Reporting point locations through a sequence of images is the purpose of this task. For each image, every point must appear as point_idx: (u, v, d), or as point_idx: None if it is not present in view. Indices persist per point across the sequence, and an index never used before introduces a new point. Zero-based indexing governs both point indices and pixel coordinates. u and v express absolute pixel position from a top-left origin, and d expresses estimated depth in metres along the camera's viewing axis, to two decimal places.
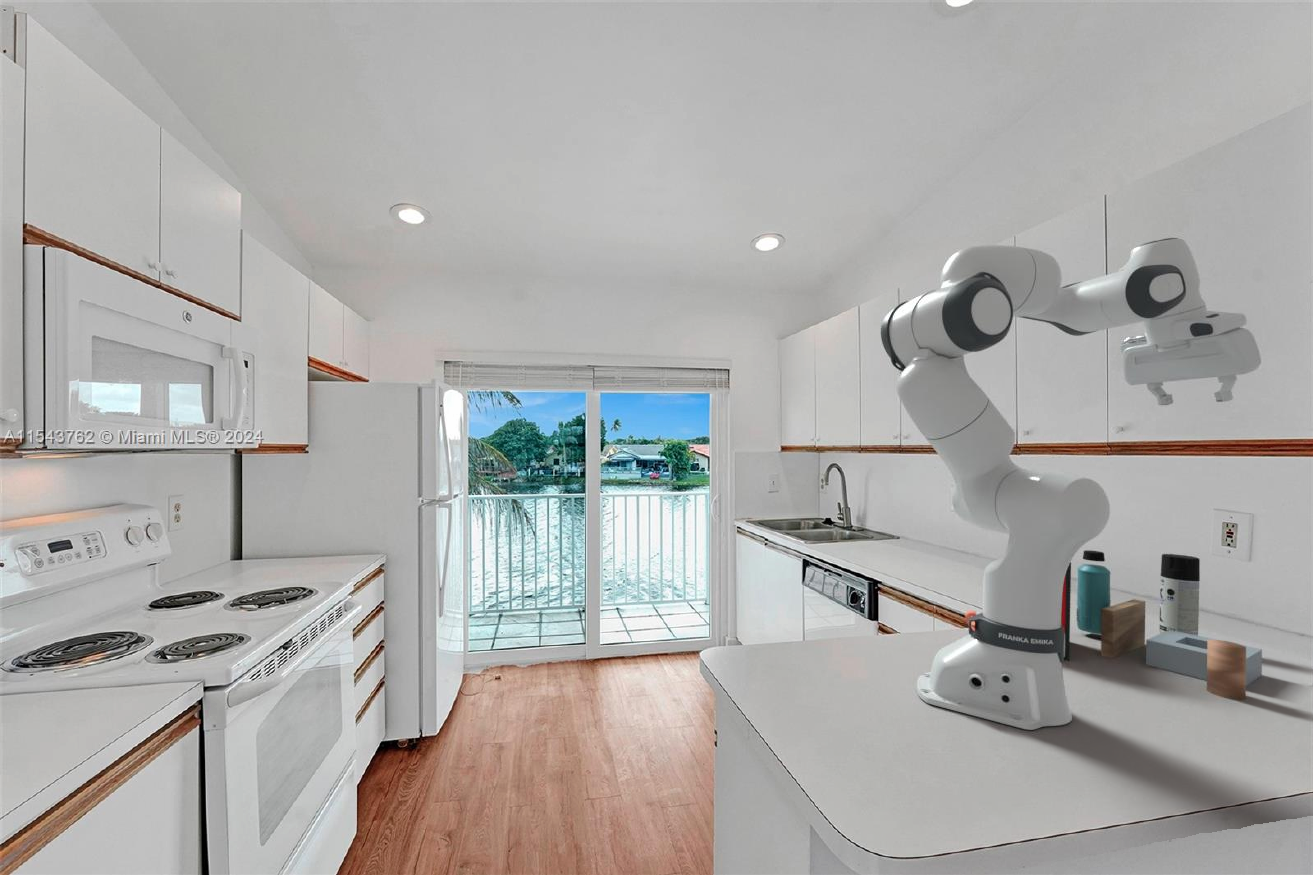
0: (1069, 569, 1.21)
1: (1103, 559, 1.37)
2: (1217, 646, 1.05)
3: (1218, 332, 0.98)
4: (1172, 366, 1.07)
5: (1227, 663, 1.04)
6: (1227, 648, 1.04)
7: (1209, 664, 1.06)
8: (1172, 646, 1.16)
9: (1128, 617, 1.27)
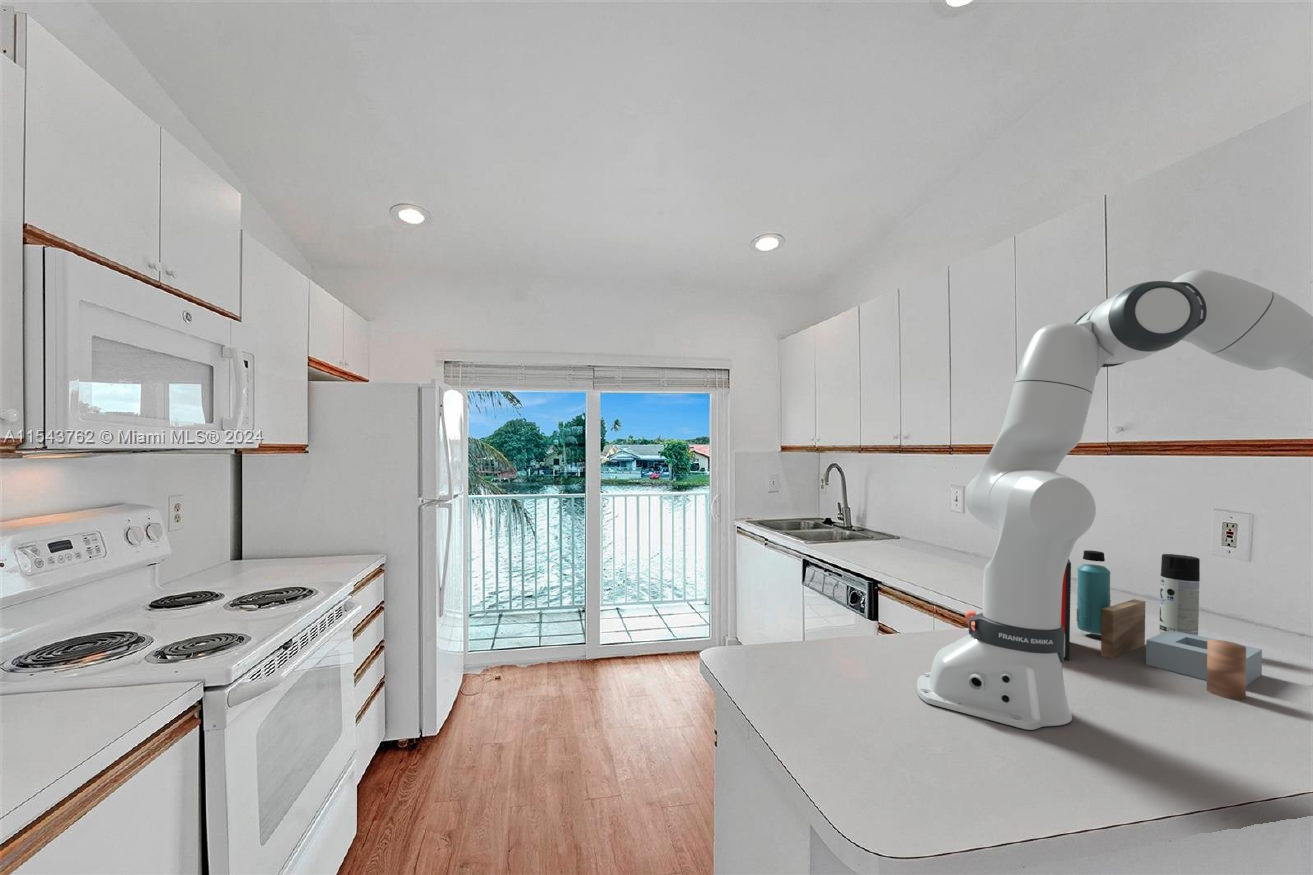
0: (1069, 569, 1.21)
1: (1103, 559, 1.37)
2: (1217, 646, 1.05)
3: None
4: None
5: (1227, 663, 1.04)
6: (1227, 648, 1.04)
7: (1209, 664, 1.06)
8: (1172, 646, 1.16)
9: (1128, 617, 1.27)
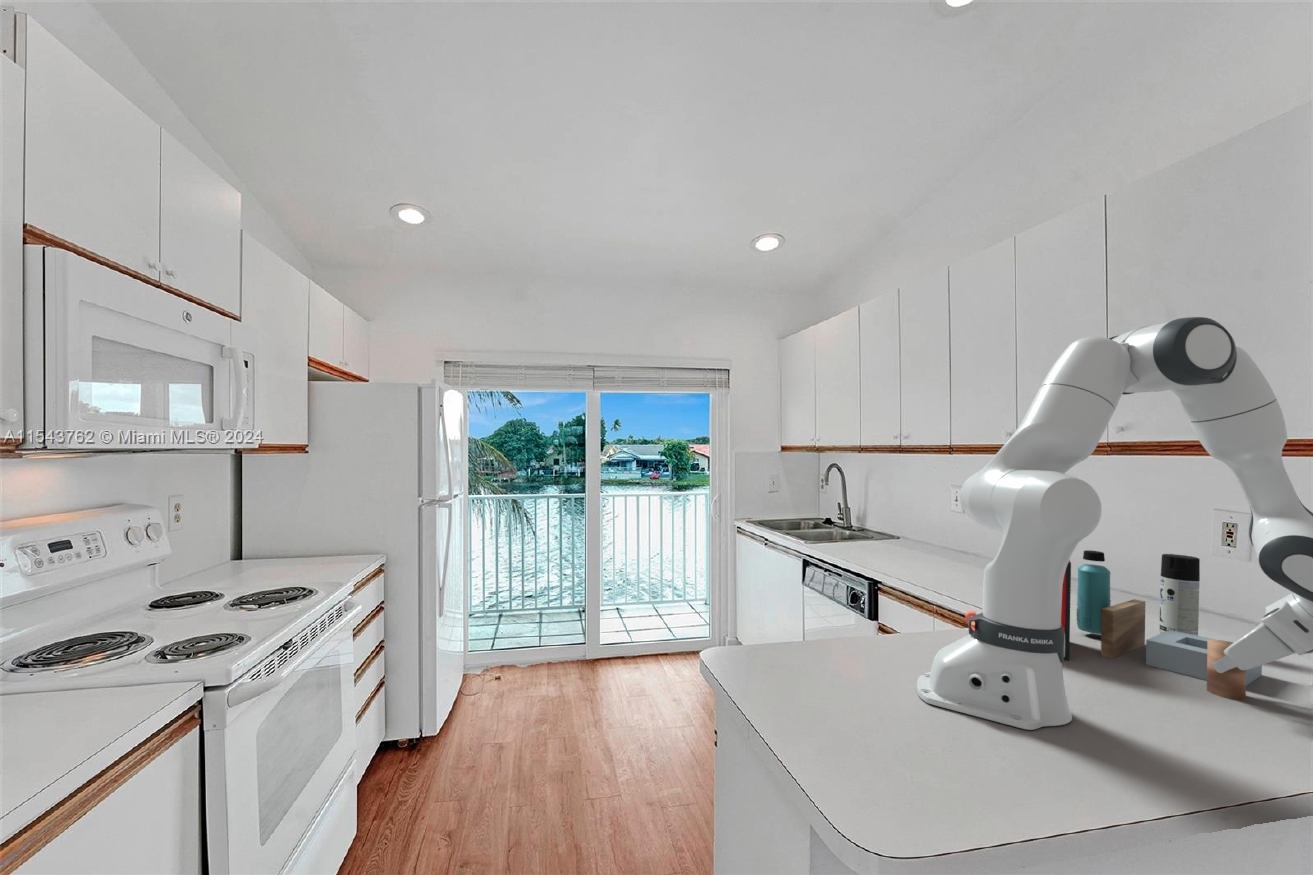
0: (1069, 569, 1.21)
1: (1103, 559, 1.37)
2: (1217, 646, 1.05)
3: (1261, 619, 0.96)
4: None
5: None
6: None
7: (1209, 664, 1.06)
8: (1172, 646, 1.16)
9: (1128, 617, 1.27)
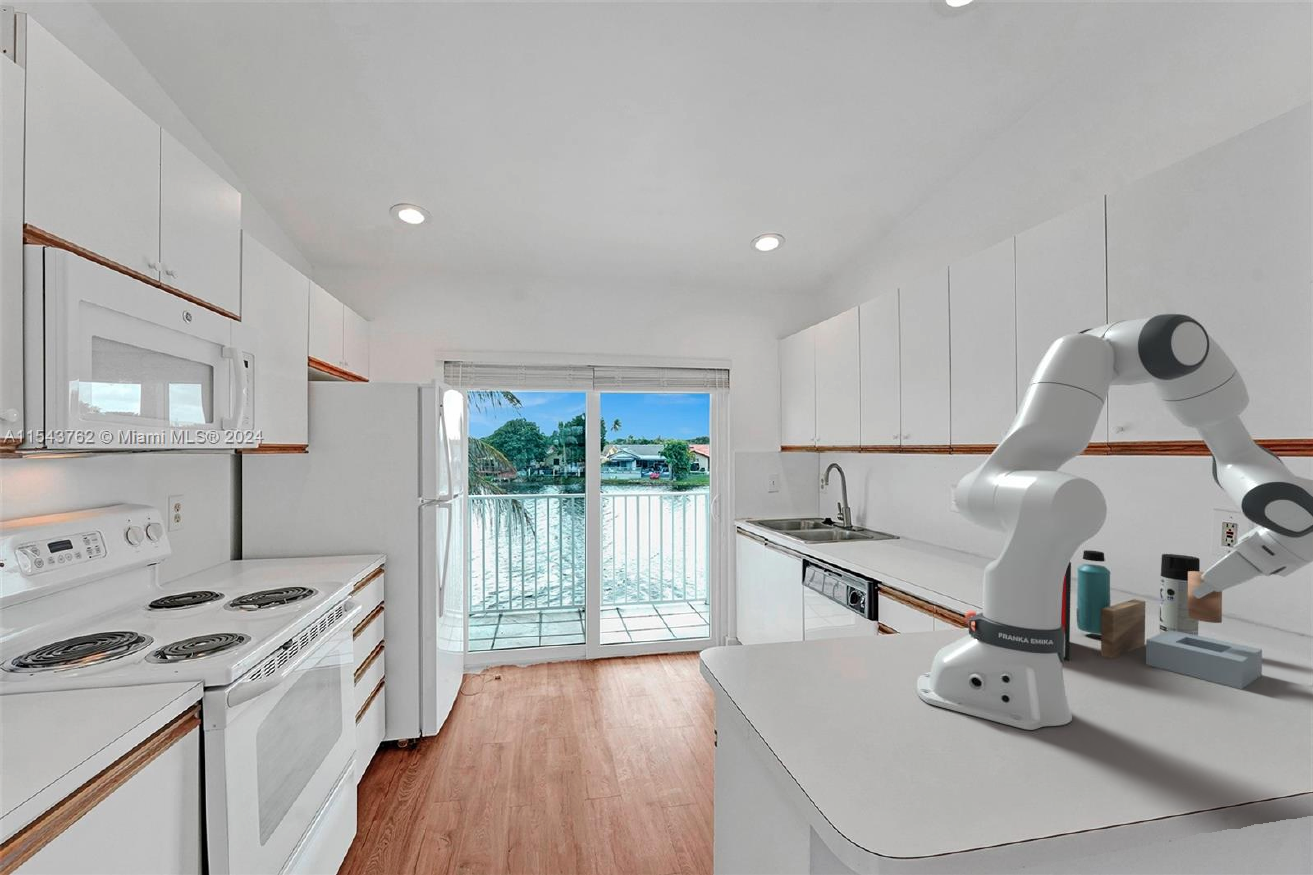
0: (1069, 569, 1.21)
1: (1103, 559, 1.37)
2: (1196, 575, 1.17)
3: None
4: None
5: None
6: None
7: (1189, 592, 1.19)
8: (1172, 646, 1.16)
9: (1128, 617, 1.27)
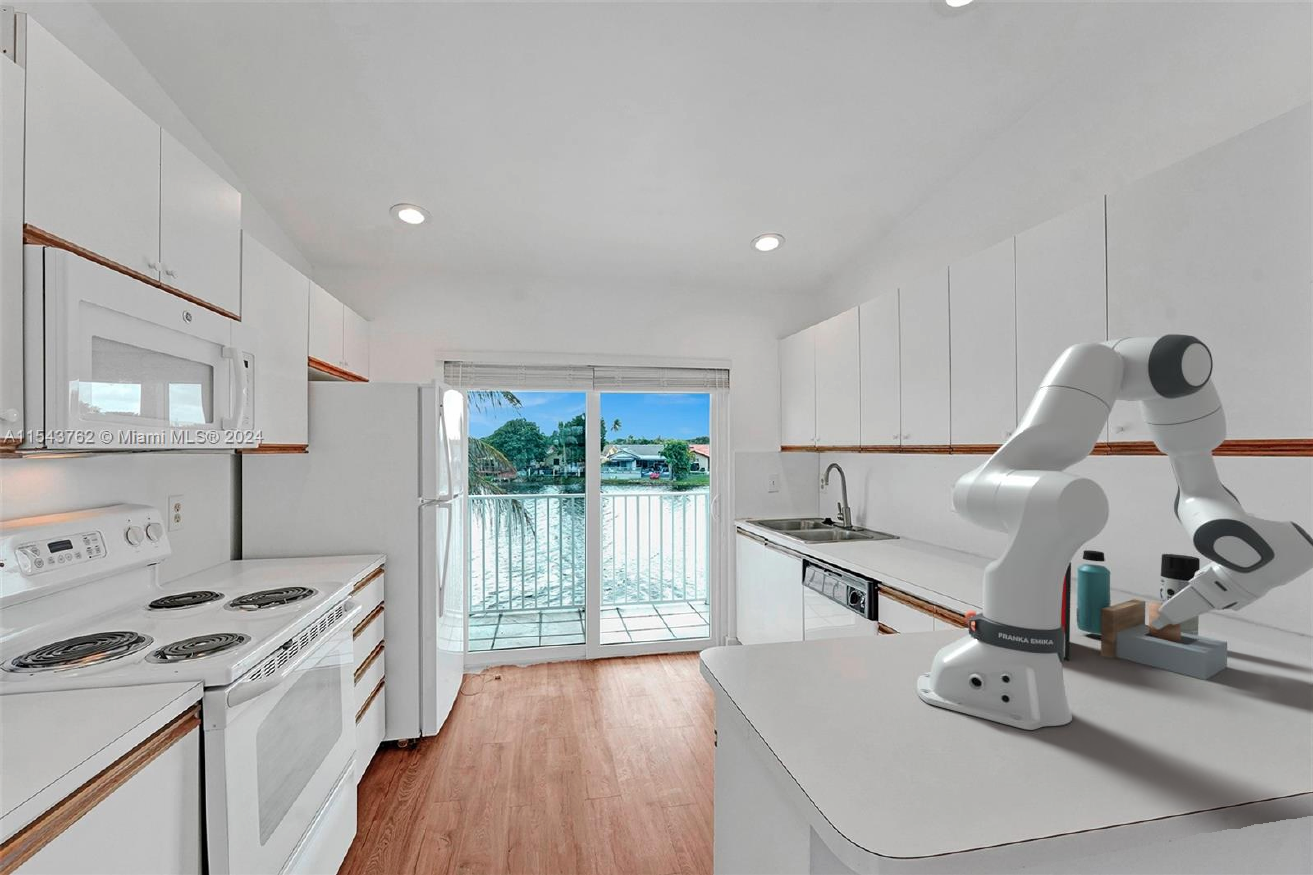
0: (1069, 569, 1.21)
1: (1103, 559, 1.37)
2: (1156, 607, 1.22)
3: (1189, 580, 1.14)
4: None
5: None
6: None
7: (1150, 623, 1.23)
8: (1141, 639, 1.20)
9: (1128, 617, 1.27)
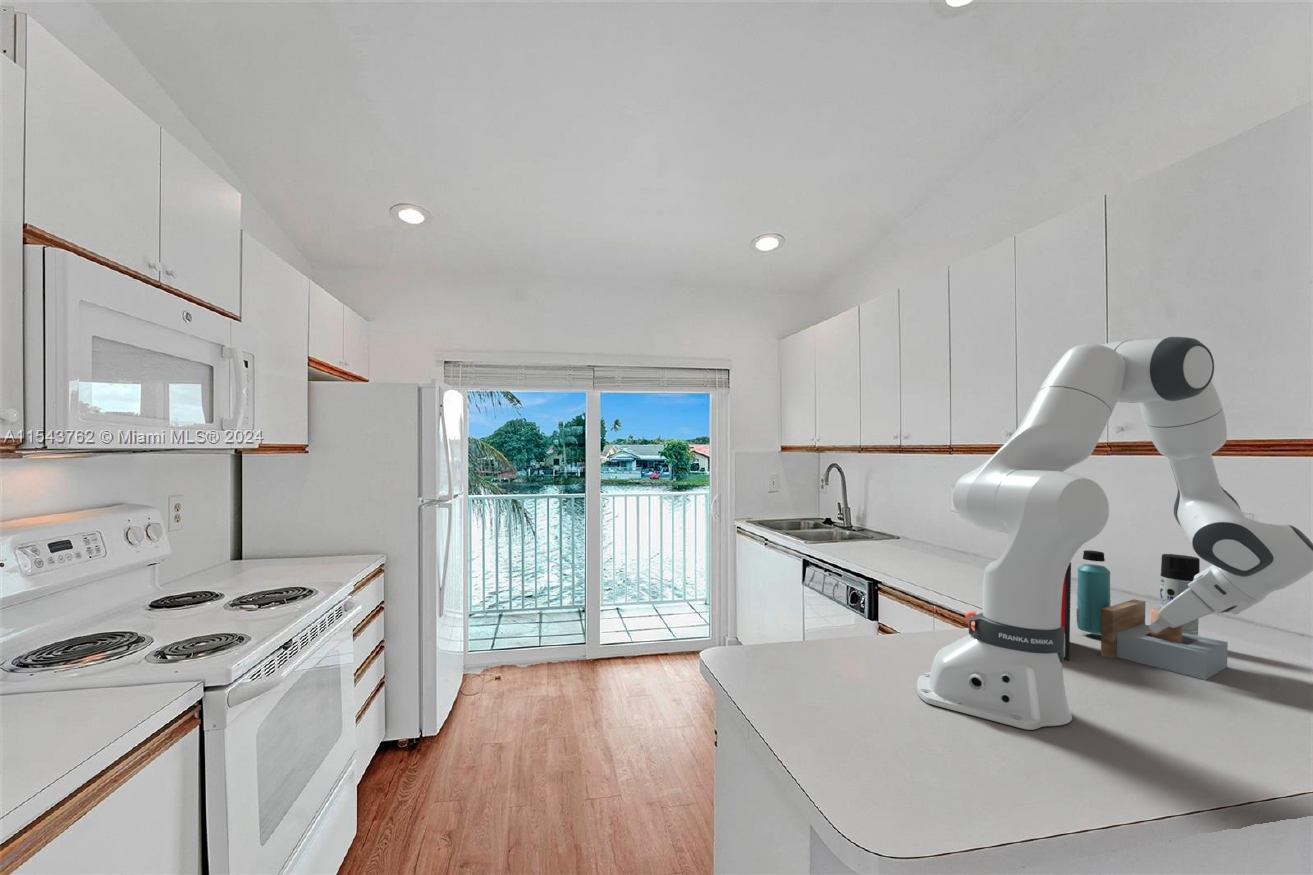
0: (1069, 569, 1.21)
1: (1103, 559, 1.37)
2: None
3: (1188, 584, 1.14)
4: None
5: None
6: None
7: None
8: (1141, 639, 1.20)
9: (1128, 617, 1.27)
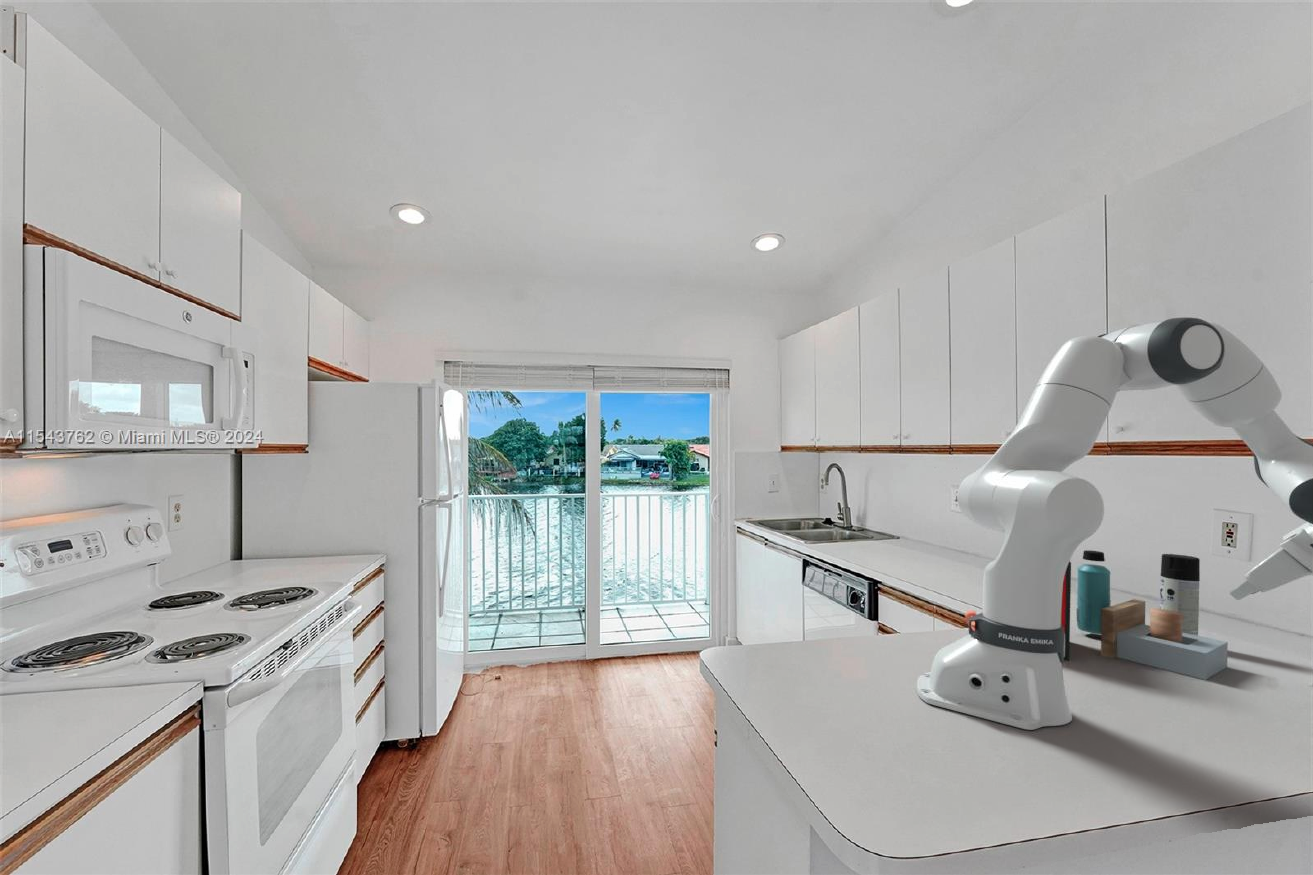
0: (1069, 569, 1.21)
1: (1103, 559, 1.37)
2: (1158, 613, 1.22)
3: None
4: None
5: (1166, 627, 1.21)
6: (1166, 615, 1.21)
7: (1151, 629, 1.23)
8: (1141, 639, 1.20)
9: (1128, 617, 1.27)
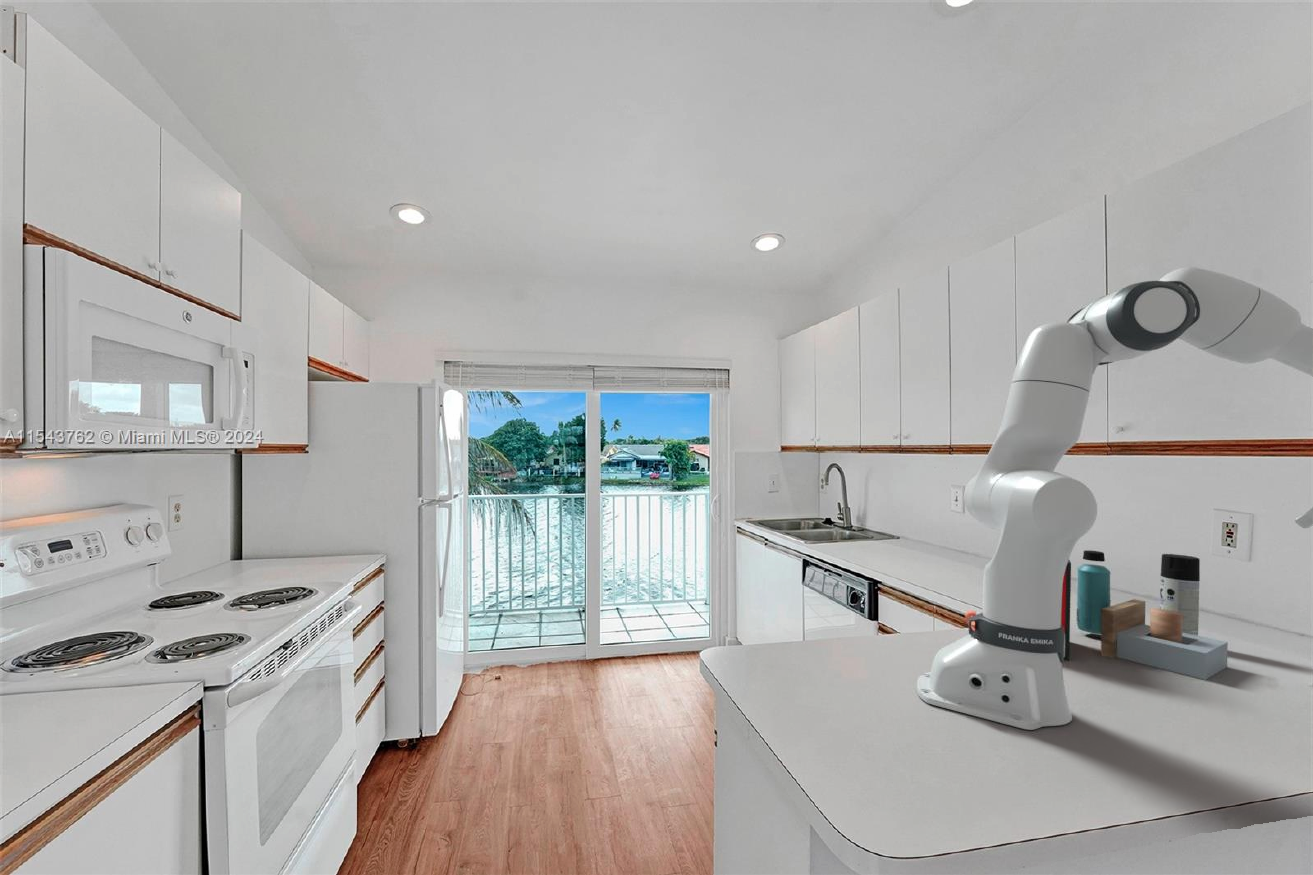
0: (1069, 569, 1.21)
1: (1103, 559, 1.37)
2: (1158, 613, 1.22)
3: None
4: None
5: (1166, 627, 1.21)
6: (1166, 615, 1.21)
7: (1151, 629, 1.23)
8: (1141, 639, 1.20)
9: (1128, 617, 1.27)
